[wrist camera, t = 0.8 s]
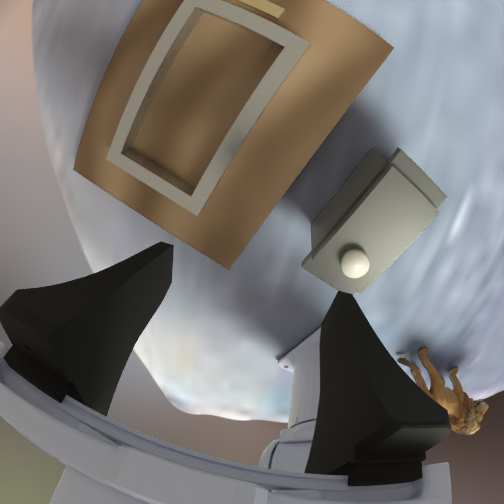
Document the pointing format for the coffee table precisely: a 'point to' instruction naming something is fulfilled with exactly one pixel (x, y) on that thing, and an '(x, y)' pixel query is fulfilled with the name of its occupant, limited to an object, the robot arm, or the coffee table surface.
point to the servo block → (371, 221)
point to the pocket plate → (221, 110)
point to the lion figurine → (449, 396)
